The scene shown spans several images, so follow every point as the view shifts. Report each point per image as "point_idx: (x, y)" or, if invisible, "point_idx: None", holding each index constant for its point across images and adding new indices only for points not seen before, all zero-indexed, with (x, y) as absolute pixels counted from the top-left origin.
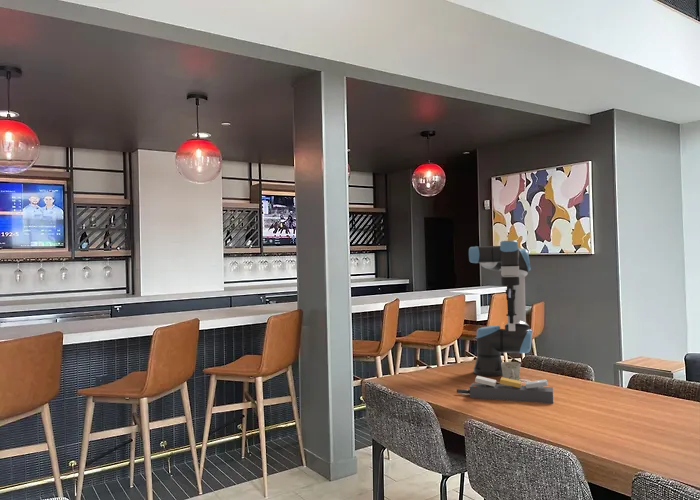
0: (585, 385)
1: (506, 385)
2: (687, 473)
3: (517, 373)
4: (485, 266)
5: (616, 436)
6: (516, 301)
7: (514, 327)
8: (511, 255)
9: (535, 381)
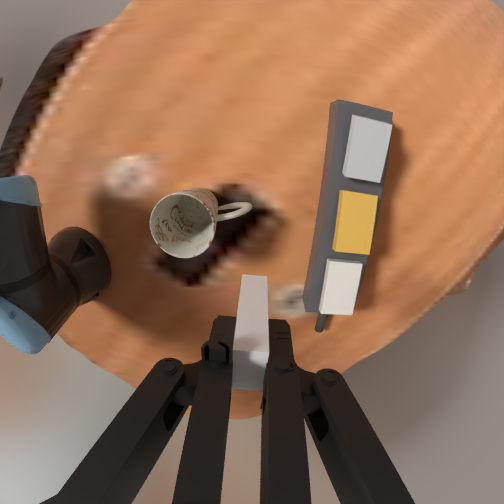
0: (156, 22)
1: (332, 229)
2: None
3: (206, 197)
4: None
5: None
6: None
7: (266, 292)
8: None
9: (362, 151)
